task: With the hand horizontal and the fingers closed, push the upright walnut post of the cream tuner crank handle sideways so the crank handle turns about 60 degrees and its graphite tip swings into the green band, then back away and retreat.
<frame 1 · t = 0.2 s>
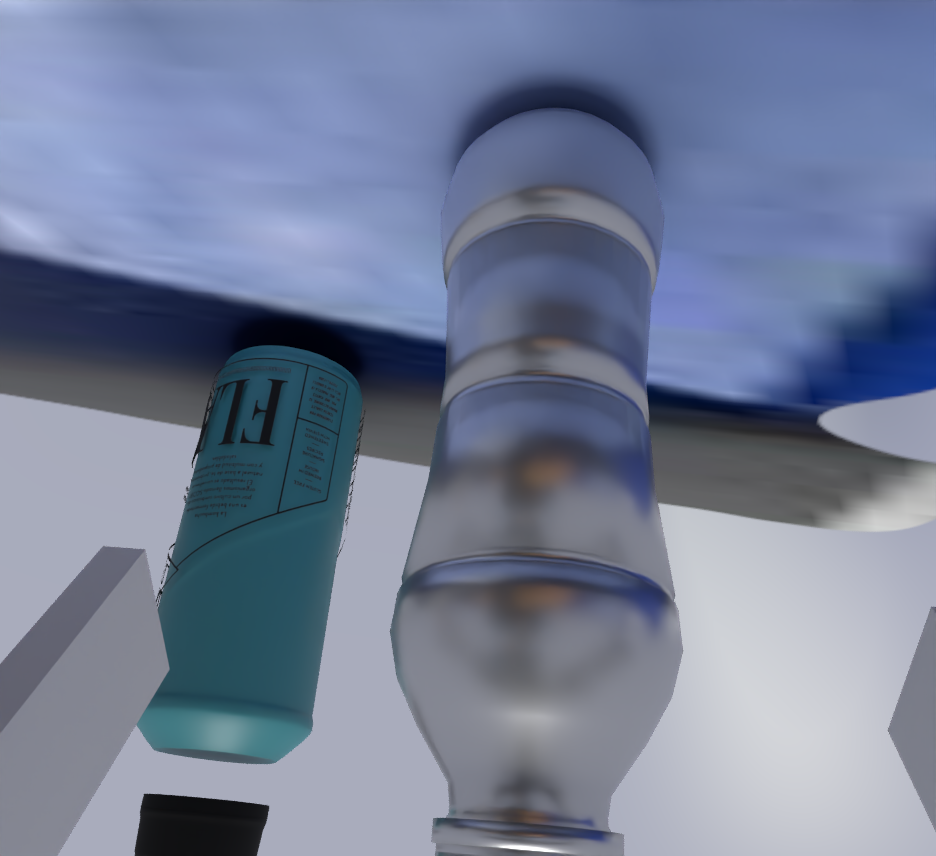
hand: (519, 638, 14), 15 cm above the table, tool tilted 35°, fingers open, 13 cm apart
beverage bottle: (300, 352, 35), on the table
silver metal bottle: (553, 161, 24), on the table
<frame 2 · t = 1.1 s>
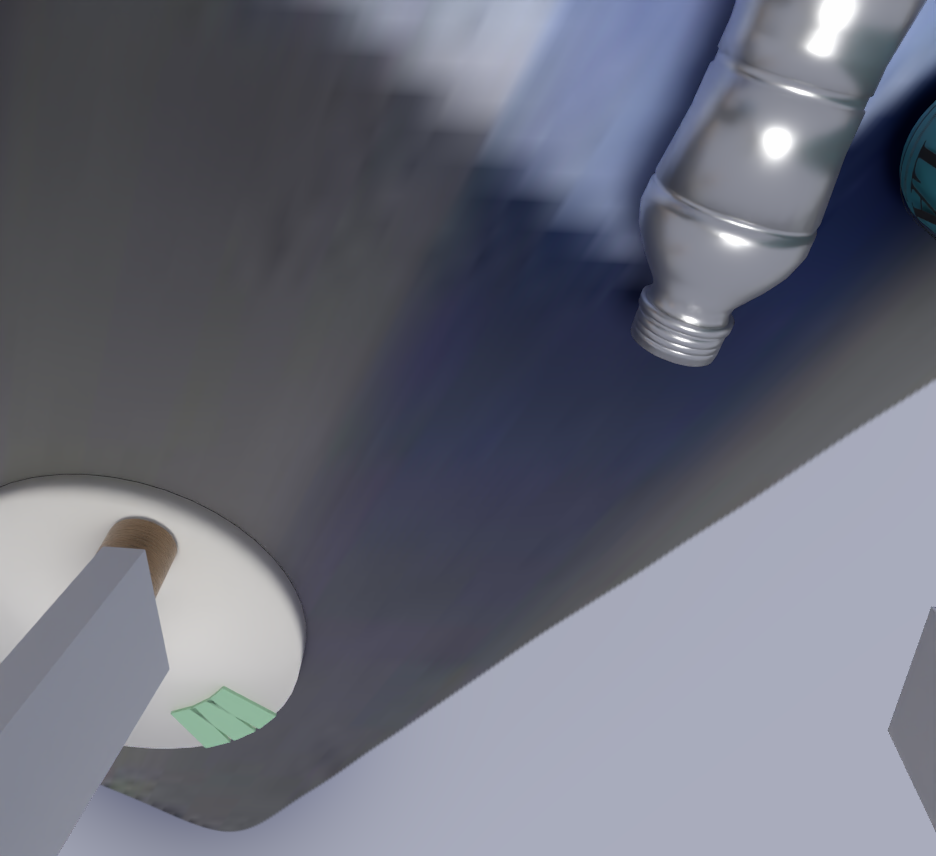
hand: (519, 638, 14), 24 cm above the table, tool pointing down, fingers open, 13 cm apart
tuner plate: (128, 614, 49), on the table
crank handle: (55, 758, 41), point 10 cm above the table, hinge at 0.0°
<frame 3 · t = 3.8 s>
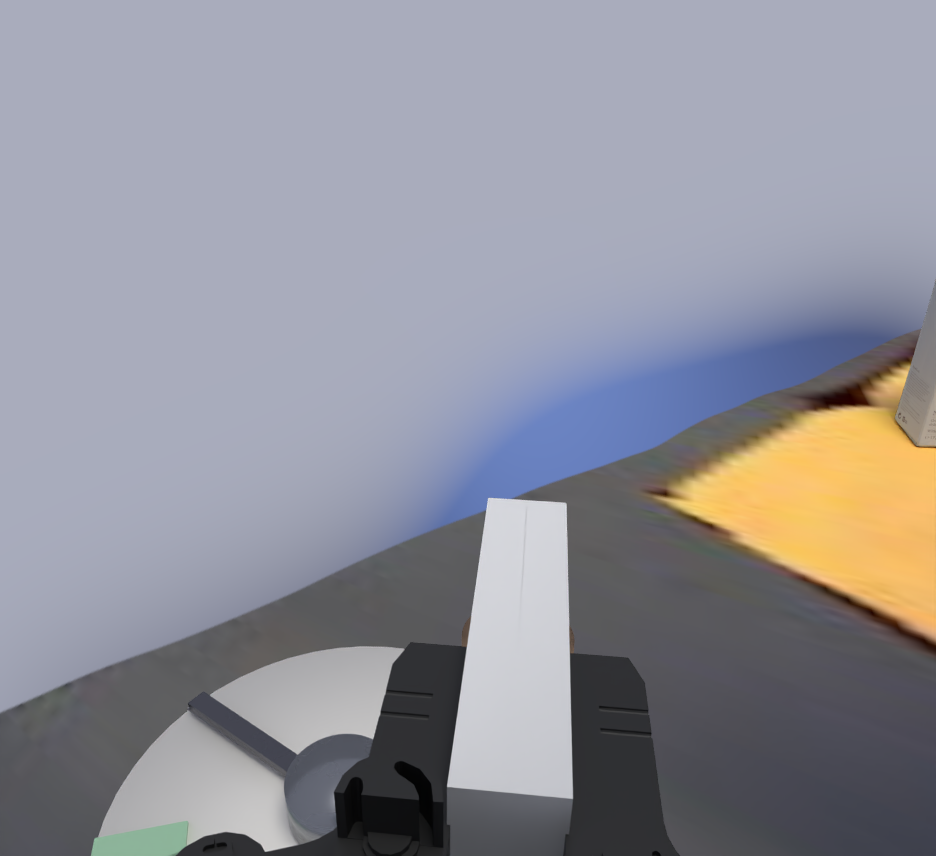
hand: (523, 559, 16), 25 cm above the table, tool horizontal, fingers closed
tuner plate: (346, 839, 38), on the table
crank handle: (333, 689, 33), point 10 cm above the table, hinge at 0.0°
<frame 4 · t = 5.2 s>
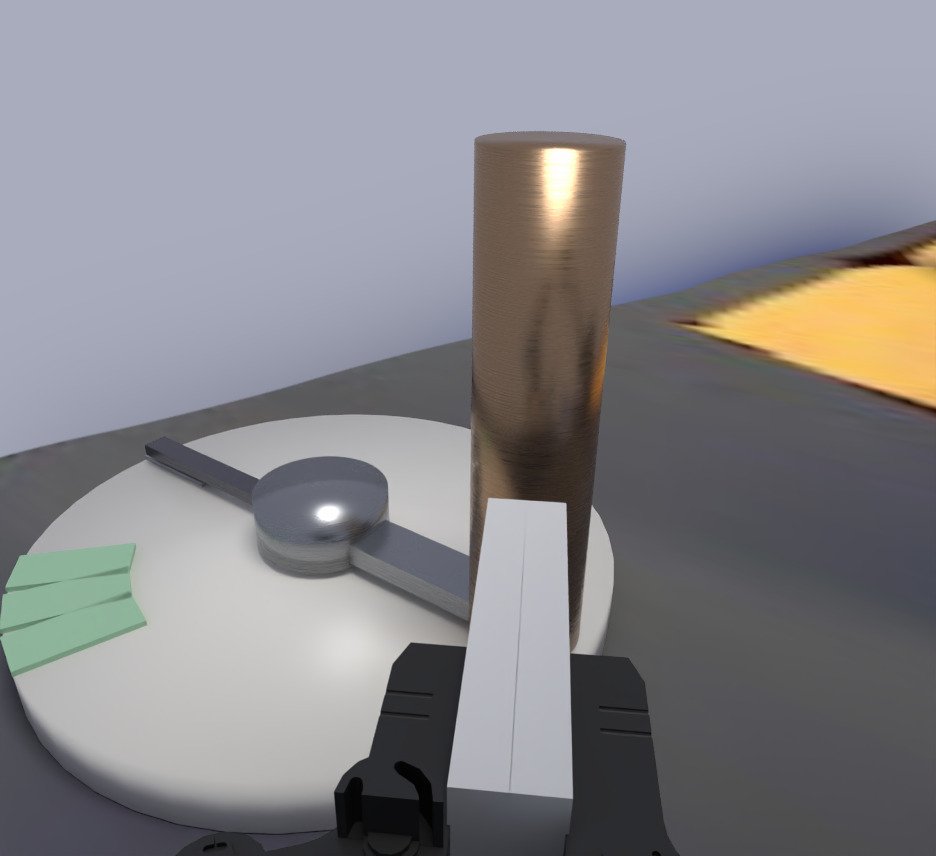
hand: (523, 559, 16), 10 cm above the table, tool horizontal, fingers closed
tuner plate: (328, 581, 31), on the table
crank handle: (311, 351, 27), point 10 cm above the table, hinge at 0.0°
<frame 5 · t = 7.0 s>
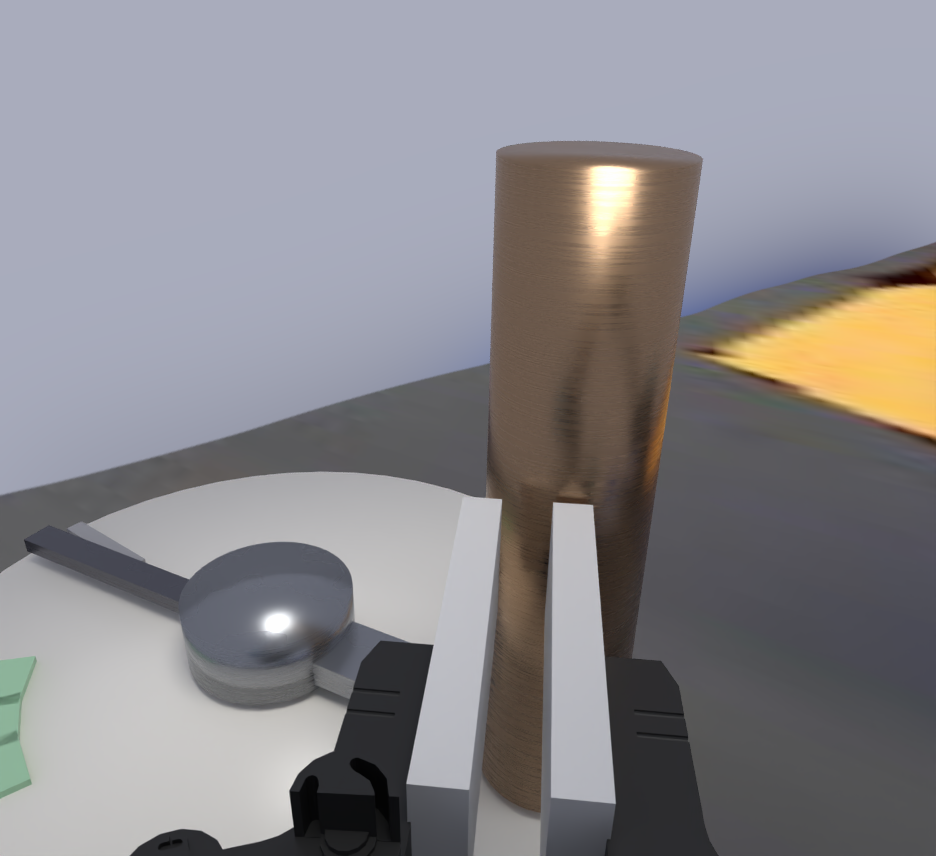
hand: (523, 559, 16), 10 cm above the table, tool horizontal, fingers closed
tuner plate: (280, 697, 25), on the table
crank handle: (251, 425, 21), point 10 cm above the table, hinge at 8.9°, touching gripper
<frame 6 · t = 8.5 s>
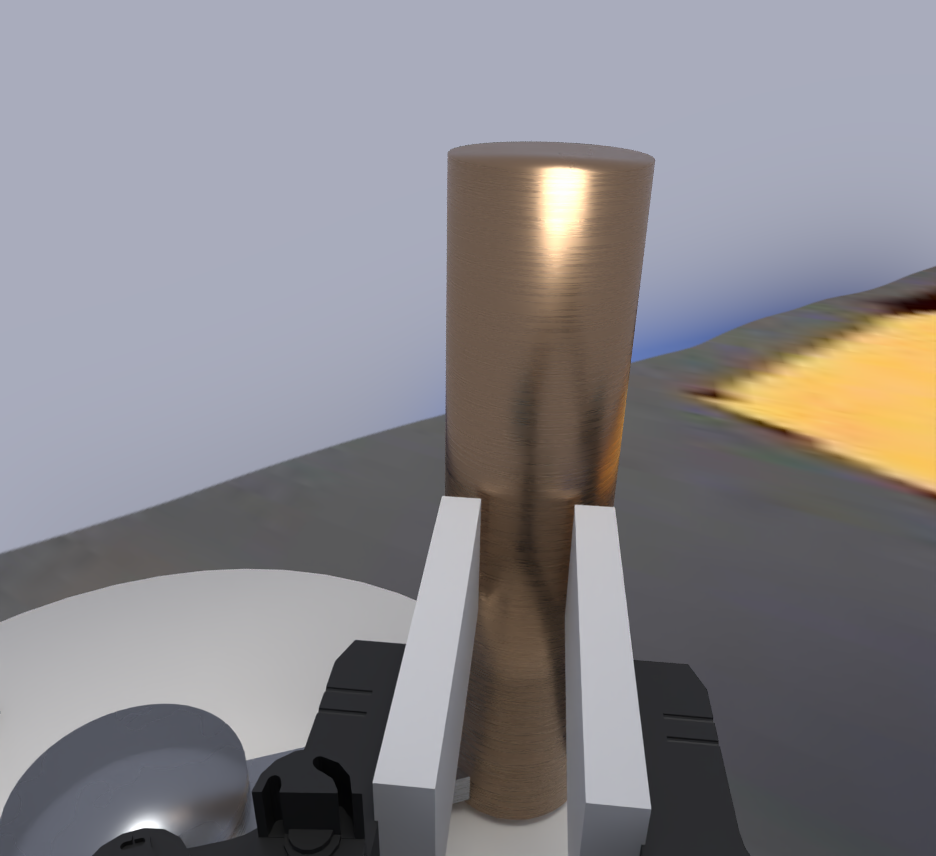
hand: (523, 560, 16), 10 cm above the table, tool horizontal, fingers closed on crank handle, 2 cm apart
crank handle: (85, 586, 15), point 10 cm above the table, hinge at 52.7°, touching gripper
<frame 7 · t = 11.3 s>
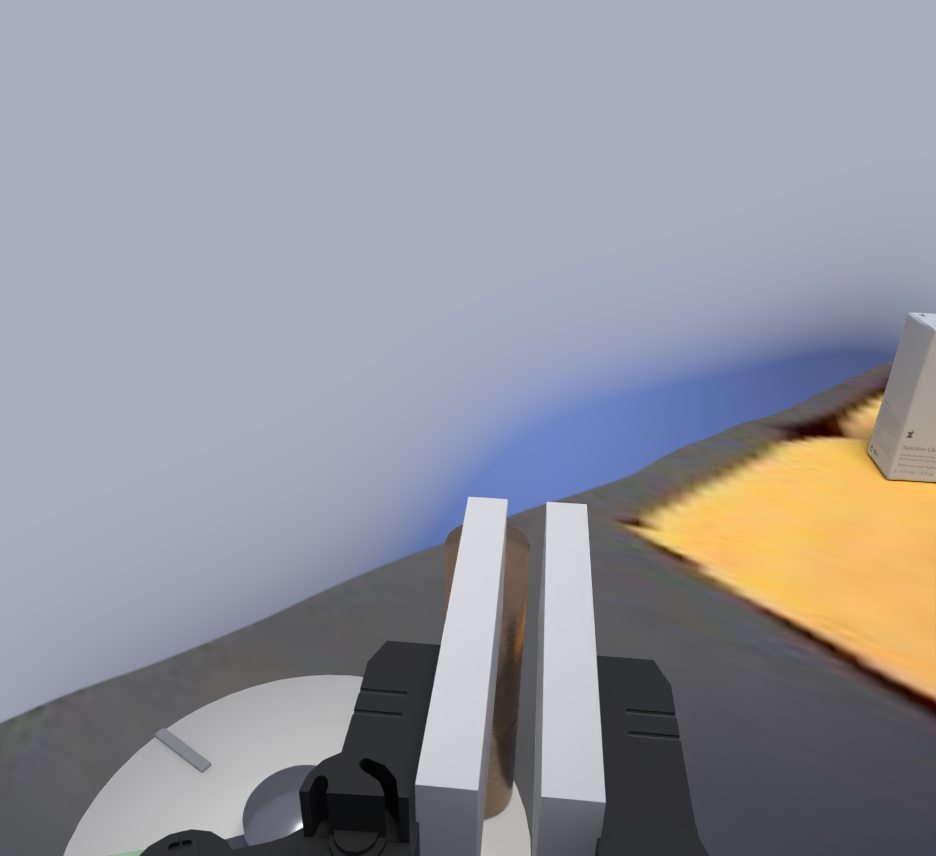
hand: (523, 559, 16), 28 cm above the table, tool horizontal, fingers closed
skincare box: (918, 470, 77), on the table
crank handle: (291, 722, 35), point 10 cm above the table, hinge at 54.9°
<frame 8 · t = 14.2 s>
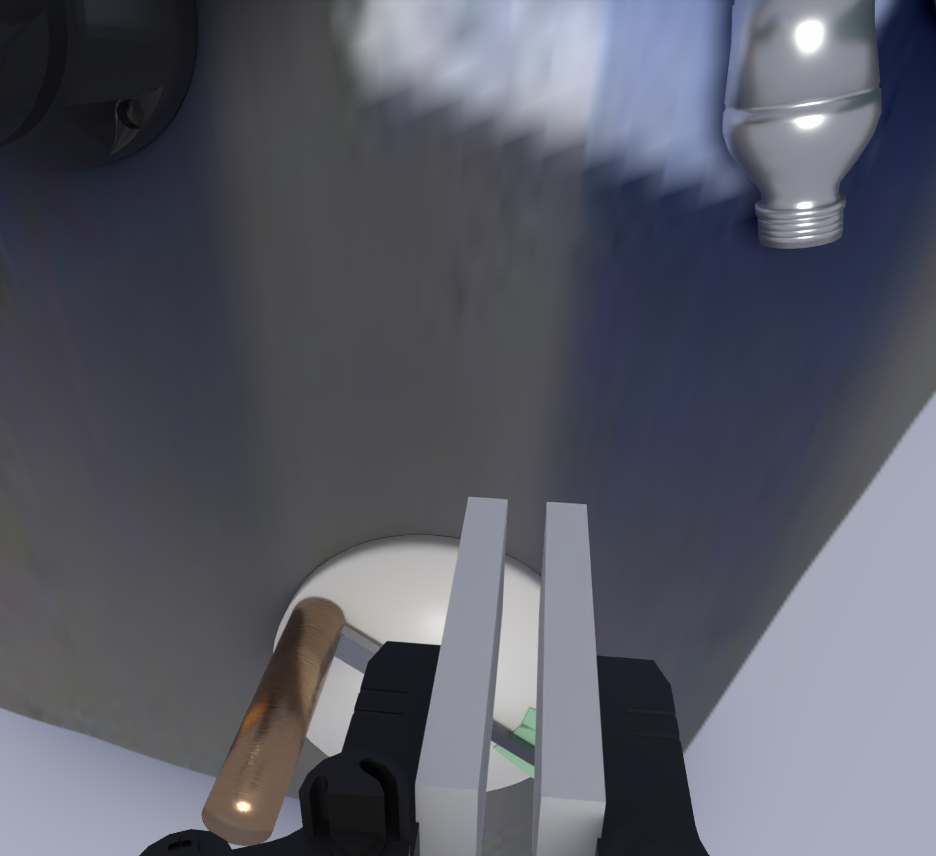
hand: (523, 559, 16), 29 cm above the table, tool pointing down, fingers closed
tuner plate: (433, 663, 56), on the table
crank handle: (409, 778, 48), point 10 cm above the table, hinge at 54.9°
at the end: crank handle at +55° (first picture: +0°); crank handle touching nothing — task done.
